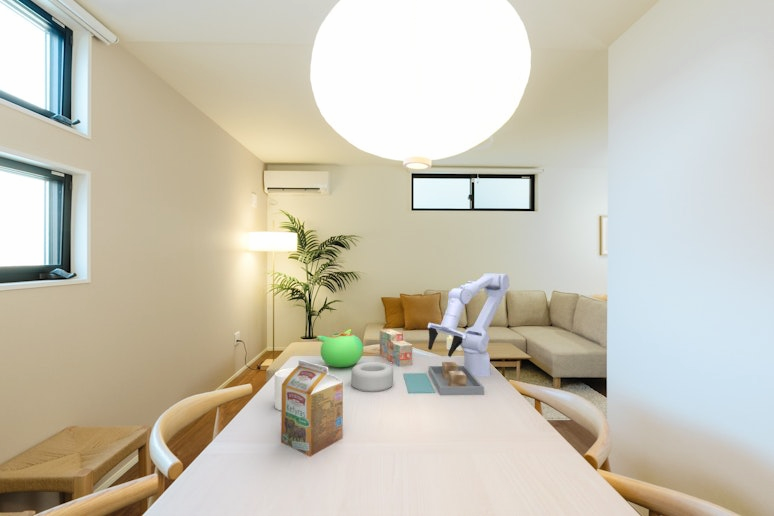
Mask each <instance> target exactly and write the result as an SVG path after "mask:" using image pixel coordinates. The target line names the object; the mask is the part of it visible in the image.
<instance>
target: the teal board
mask: <svg viewBox="0 0 774 516" xmlns="http://www.w3.org/2000/svg"><path fill="white" fill-rule="evenodd" d="M402 374H403V375H402V376H403V379H404V382H405V386H406V390H407V393H408V394H436V390H435V388H434V387H433V385H432V381H431V380H430V378H429V376H428V374H427V372H419V373H418V372H414V373H413V372H409V373H407V372H406V373H405V372H403V373H402Z"/></svg>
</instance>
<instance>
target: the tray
mask: <svg viewBox="0 0 774 516" xmlns="http://www.w3.org/2000/svg"><path fill="white" fill-rule="evenodd" d="M458 371H463V372H464V373H465V375H466V386H449V385H448V379H444V377H443V376H442V365H428V375H429V376H430V378H431V381H432V382H433V384H434V386H435V388H436V390H437V393H438V394H439V395H440V396H471V395H472V396H475V395H476V396H479V395H480V396H484V394H485V392H484V391H485V386H483V384H482V382H480V380H478V378H476V376H474V375H473V374H472V373H471V372H470V371H469V370H468V369H467V368H466V367H465V366H464V365H458Z"/></svg>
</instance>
